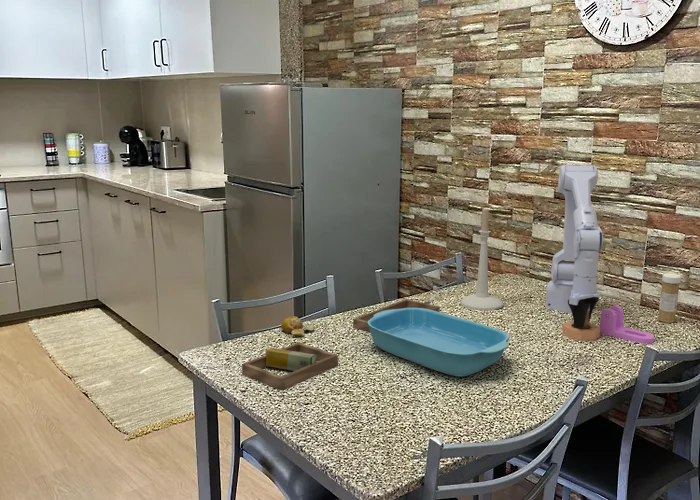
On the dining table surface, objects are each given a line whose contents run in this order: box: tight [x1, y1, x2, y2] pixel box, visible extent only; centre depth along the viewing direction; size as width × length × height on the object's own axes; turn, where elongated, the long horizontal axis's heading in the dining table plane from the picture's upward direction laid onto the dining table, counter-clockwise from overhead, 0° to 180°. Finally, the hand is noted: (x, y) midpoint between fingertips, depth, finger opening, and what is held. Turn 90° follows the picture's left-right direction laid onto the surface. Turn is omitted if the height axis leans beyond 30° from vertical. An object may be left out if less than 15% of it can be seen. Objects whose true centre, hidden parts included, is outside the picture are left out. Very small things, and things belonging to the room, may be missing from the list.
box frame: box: [241, 342, 339, 391], centre depth 146 cm, size 13×18×2 cm
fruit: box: [280, 315, 316, 337], centre depth 171 cm, size 8×8×4 cm
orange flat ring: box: [561, 320, 601, 342], centre depth 169 cm, size 9×9×2 cm
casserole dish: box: [368, 308, 510, 377], centre depth 156 cm, size 37×22×7 cm, turn 45°
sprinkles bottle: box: [657, 272, 682, 324], centre depth 178 cm, size 5×5×14 cm
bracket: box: [599, 304, 655, 345], centre depth 167 cm, size 13×6×7 cm, turn 43°
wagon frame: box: [352, 298, 441, 334], centre depth 180 cm, size 12×25×2 cm, turn 139°
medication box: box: [265, 347, 317, 372], centre depth 146 cm, size 12×3×4 cm, turn 69°
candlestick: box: [460, 208, 504, 311], centre depth 193 cm, size 13×13×30 cm
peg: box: [575, 307, 590, 330], centre depth 168 cm, size 3×3×7 cm
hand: (581, 324), depth 168 cm, fingers closed on peg, 3 cm apart
